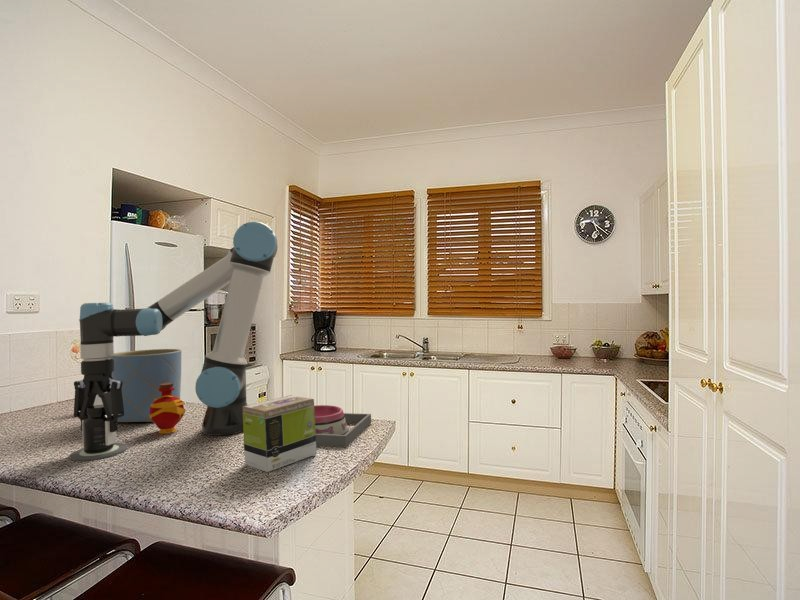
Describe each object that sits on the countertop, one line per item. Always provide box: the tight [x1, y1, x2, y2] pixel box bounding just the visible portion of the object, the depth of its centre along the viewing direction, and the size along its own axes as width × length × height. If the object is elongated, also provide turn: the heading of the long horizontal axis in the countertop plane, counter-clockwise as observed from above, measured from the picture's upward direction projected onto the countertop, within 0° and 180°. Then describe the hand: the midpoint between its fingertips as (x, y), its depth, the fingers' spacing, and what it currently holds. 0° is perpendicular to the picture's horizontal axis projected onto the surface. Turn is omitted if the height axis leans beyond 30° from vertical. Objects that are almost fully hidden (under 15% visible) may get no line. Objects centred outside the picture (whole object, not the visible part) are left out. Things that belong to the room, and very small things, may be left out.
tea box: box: [243, 394, 318, 473], centre depth 112 cm, size 15×10×15 cm, turn 141°
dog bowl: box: [314, 404, 350, 435], centre depth 137 cm, size 18×19×7 cm
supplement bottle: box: [82, 405, 114, 454], centre depth 122 cm, size 7×7×12 cm
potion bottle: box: [149, 383, 186, 435], centre depth 142 cm, size 10×10×15 cm
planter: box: [111, 348, 182, 423], centre depth 161 cm, size 23×23×24 cm
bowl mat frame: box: [316, 412, 372, 448], centre depth 136 cm, size 24×24×3 cm
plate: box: [69, 442, 128, 462], centre depth 122 cm, size 13×13×1 cm
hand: (99, 443), depth 122 cm, fingers closed on supplement bottle, 7 cm apart
